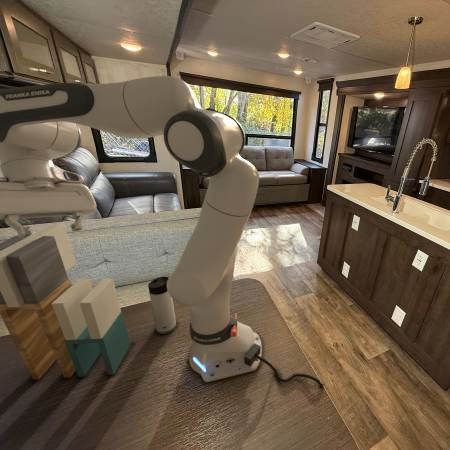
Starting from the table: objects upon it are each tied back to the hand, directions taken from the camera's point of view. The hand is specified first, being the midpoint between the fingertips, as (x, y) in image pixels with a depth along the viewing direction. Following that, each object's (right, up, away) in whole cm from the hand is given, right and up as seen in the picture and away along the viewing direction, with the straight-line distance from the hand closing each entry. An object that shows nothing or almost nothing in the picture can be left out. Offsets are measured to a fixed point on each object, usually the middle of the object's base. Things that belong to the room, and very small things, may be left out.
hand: (53, 232), depth 57 cm
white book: (-10, -13, +8) cm, 18 cm away
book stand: (-12, -39, +15) cm, 43 cm away
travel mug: (+10, -35, +30) cm, 47 cm away
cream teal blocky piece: (-1, -39, +17) cm, 42 cm away
